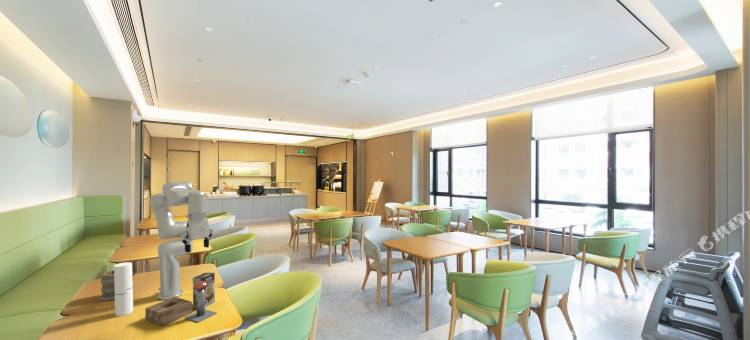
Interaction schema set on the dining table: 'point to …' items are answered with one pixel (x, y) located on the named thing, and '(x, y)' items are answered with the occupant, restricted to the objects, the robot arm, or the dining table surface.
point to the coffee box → (206, 288)
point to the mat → (197, 319)
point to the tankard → (108, 286)
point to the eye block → (168, 311)
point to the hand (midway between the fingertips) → (197, 249)
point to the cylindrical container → (123, 288)
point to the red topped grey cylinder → (200, 297)
